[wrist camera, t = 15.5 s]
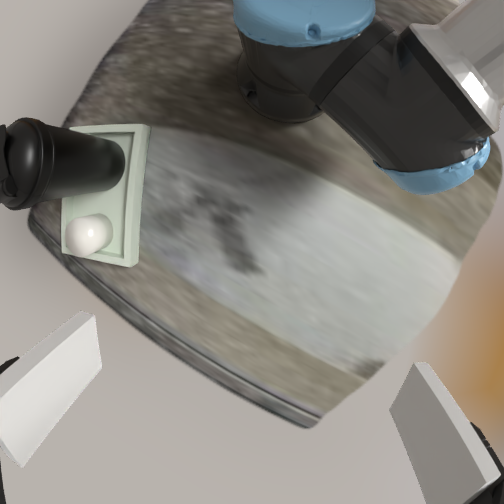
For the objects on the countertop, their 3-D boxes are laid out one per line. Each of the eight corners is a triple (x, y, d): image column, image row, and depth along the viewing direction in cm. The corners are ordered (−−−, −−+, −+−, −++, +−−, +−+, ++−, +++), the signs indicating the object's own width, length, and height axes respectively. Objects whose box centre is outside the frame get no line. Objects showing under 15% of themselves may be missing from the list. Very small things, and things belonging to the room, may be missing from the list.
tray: (79, 129, 39) (69, 127, 36) (151, 127, 39) (143, 123, 36) (71, 248, 45) (61, 252, 42) (138, 262, 44) (130, 267, 41)
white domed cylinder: (86, 211, 42) (65, 216, 36) (114, 215, 41) (94, 220, 36) (86, 245, 43) (65, 253, 37) (113, 250, 43) (93, 260, 37)
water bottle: (125, 126, 38) (19, 96, 16) (135, 186, 40) (25, 198, 18) (78, 146, 39) (-27, 139, 17) (86, 202, 41) (-20, 225, 19)
